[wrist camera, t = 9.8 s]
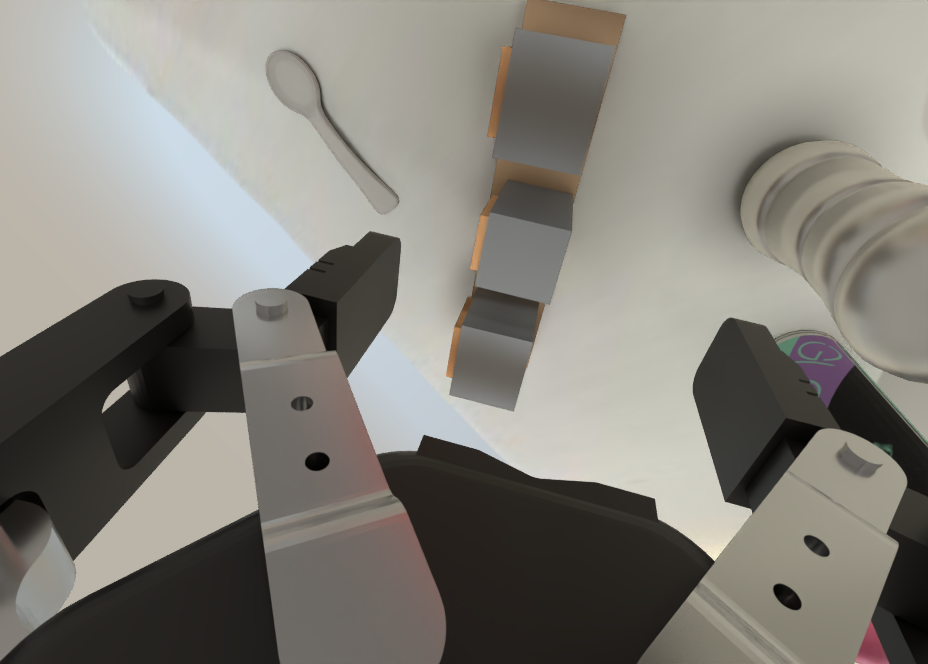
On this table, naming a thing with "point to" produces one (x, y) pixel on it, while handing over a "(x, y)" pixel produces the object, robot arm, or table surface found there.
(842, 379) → the spray can
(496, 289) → the grey block
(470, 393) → the rail
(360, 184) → the spoon
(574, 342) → the table surface
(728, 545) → the robot arm
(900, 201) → the plastic bottle
